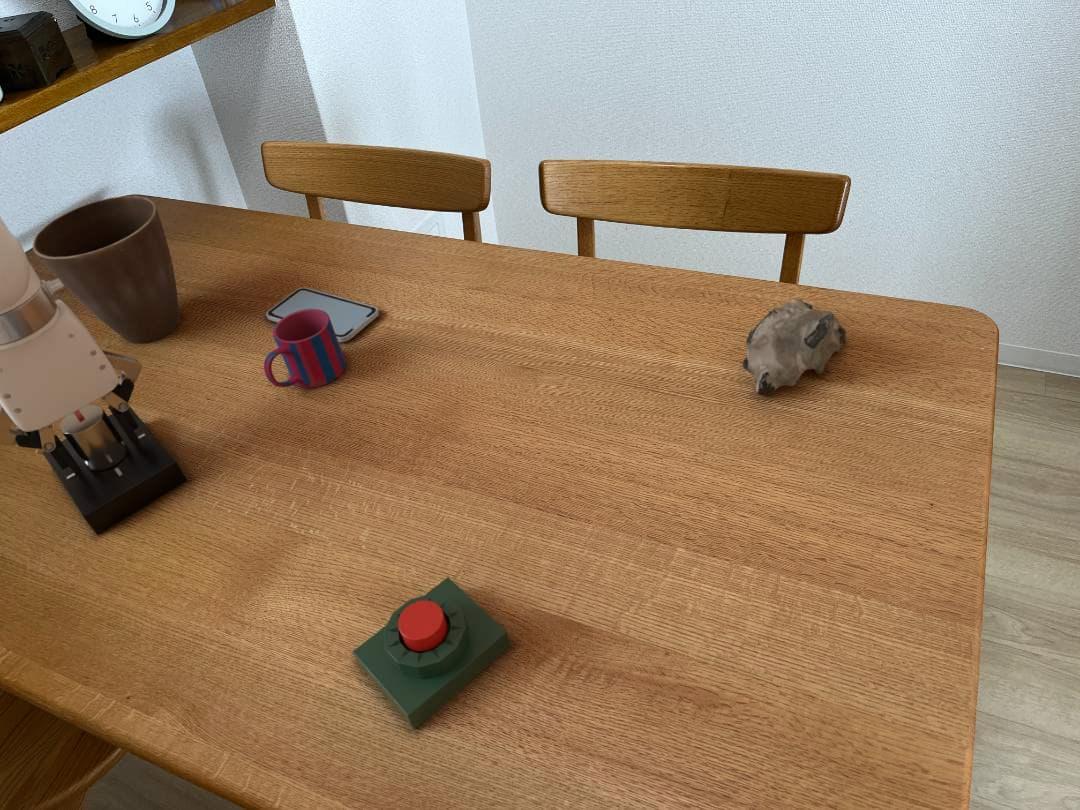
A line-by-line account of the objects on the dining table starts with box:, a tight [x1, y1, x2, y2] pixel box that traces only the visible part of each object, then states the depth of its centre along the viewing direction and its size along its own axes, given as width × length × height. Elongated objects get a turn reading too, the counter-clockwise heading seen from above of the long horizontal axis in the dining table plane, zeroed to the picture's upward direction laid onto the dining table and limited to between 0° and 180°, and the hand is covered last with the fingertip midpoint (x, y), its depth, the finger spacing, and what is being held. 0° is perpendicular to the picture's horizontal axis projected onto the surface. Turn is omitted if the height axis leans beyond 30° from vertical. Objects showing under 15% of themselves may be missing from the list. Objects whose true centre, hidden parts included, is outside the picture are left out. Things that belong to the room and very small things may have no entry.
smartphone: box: [266, 287, 380, 343], centre depth 107 cm, size 7×1×15 cm
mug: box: [263, 309, 347, 388], centre depth 96 cm, size 7×10×7 cm
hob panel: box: [41, 405, 188, 536], centre depth 88 cm, size 14×10×3 cm
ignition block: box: [352, 576, 512, 731], centre depth 66 cm, size 10×8×4 cm
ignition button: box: [398, 601, 447, 652], centre depth 64 cm, size 4×4×2 cm
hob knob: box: [59, 404, 128, 471], centre depth 85 cm, size 4×4×6 cm
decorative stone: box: [741, 298, 847, 397], centre depth 85 cm, size 16×9×10 cm, turn 149°
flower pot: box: [32, 195, 180, 344], centre depth 106 cm, size 15×15×16 cm
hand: (103, 450), depth 86 cm, fingers open, 5 cm apart
